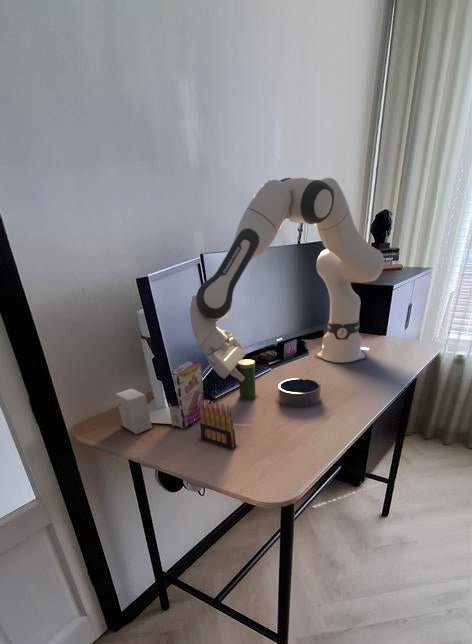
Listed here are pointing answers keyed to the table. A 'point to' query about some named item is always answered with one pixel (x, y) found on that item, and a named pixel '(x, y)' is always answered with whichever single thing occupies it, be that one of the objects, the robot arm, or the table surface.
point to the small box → (134, 410)
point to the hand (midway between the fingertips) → (246, 376)
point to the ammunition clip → (217, 425)
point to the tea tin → (247, 379)
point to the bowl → (299, 392)
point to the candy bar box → (187, 394)
